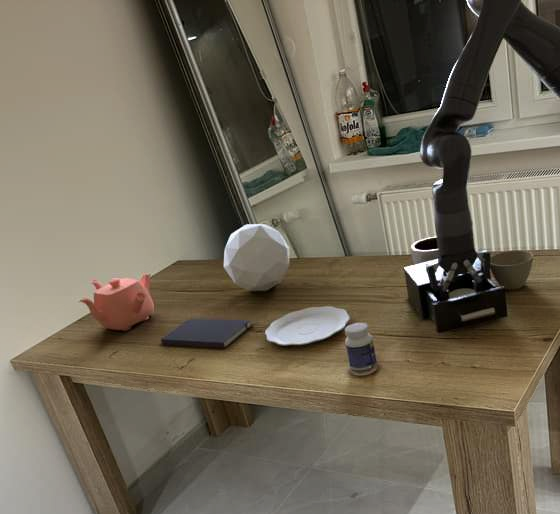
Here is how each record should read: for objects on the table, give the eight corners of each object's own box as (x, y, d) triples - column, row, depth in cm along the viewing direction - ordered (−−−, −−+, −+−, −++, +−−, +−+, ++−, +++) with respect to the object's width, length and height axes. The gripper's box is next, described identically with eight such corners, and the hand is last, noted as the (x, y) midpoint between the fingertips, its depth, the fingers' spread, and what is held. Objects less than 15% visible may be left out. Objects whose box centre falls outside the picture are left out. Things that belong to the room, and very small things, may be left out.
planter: (408, 286, 177) (403, 251, 173) (425, 270, 184) (421, 236, 180) (448, 287, 171) (443, 251, 166) (464, 270, 178) (460, 235, 174)
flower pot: (534, 292, 157) (532, 263, 154) (489, 295, 161) (486, 267, 158) (535, 275, 165) (533, 247, 162) (492, 279, 169) (489, 252, 166)
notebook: (162, 344, 181) (225, 348, 169) (160, 339, 180) (223, 342, 169) (190, 323, 190) (252, 325, 178) (189, 318, 189) (250, 320, 178)
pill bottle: (381, 371, 140) (373, 328, 136) (354, 379, 140) (346, 336, 136) (373, 360, 145) (365, 318, 141) (348, 367, 145) (339, 326, 141)
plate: (254, 351, 163) (252, 345, 163) (284, 314, 180) (283, 308, 179) (335, 349, 155) (334, 342, 154) (360, 309, 171) (358, 303, 170)
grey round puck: (471, 295, 154) (470, 286, 153) (481, 305, 149) (480, 295, 148) (445, 302, 154) (443, 292, 153) (453, 312, 149) (452, 302, 148)
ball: (252, 312, 205) (202, 268, 203) (291, 267, 212) (243, 223, 209) (271, 295, 187) (216, 246, 185) (313, 246, 194) (261, 198, 191)
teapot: (93, 342, 194) (76, 298, 188) (105, 318, 211) (89, 276, 205) (154, 327, 193) (139, 282, 187) (161, 304, 210) (147, 262, 204)
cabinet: (493, 302, 157) (489, 268, 153) (422, 319, 158) (417, 285, 154) (473, 283, 169) (470, 251, 165) (408, 299, 170) (403, 267, 166)
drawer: (516, 325, 143) (514, 295, 140) (444, 342, 143) (440, 313, 140) (487, 297, 158) (484, 269, 155) (422, 312, 159) (418, 286, 156)
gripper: (481, 216, 147) (488, 288, 154) (416, 232, 147) (426, 303, 155) (493, 225, 140) (500, 299, 148) (425, 242, 141) (435, 315, 148)
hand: (462, 301), depth 151 cm, fingers closed on grey round puck, 6 cm apart
